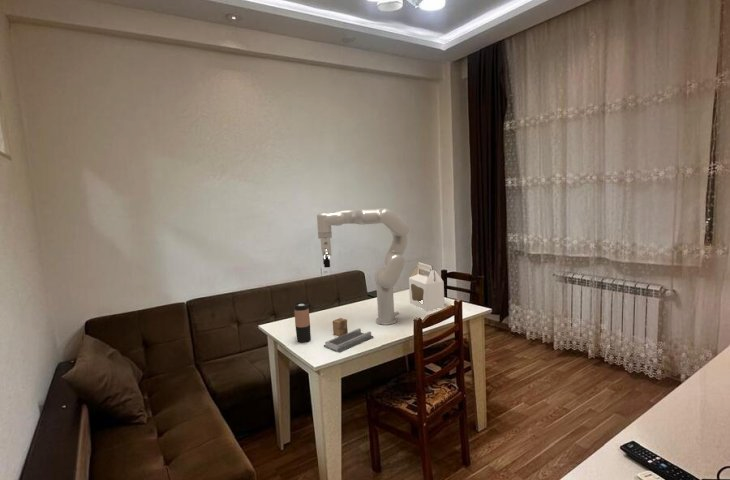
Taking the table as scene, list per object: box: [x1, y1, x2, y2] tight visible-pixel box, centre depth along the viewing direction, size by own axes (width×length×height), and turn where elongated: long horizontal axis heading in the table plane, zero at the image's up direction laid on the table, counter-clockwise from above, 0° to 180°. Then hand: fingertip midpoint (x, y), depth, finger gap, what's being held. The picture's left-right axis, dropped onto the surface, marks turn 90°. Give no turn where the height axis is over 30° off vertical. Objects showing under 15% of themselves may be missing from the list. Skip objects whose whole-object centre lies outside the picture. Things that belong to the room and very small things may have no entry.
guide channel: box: [323, 328, 374, 354], centre depth 200 cm, size 24×12×3 cm, turn 136°
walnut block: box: [332, 317, 349, 337], centre depth 211 cm, size 6×5×8 cm
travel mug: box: [293, 301, 312, 344], centre depth 204 cm, size 8×8×20 cm
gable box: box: [408, 261, 445, 312], centre depth 253 cm, size 22×13×28 cm, turn 22°
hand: (326, 265), depth 217 cm, fingers open, 9 cm apart
